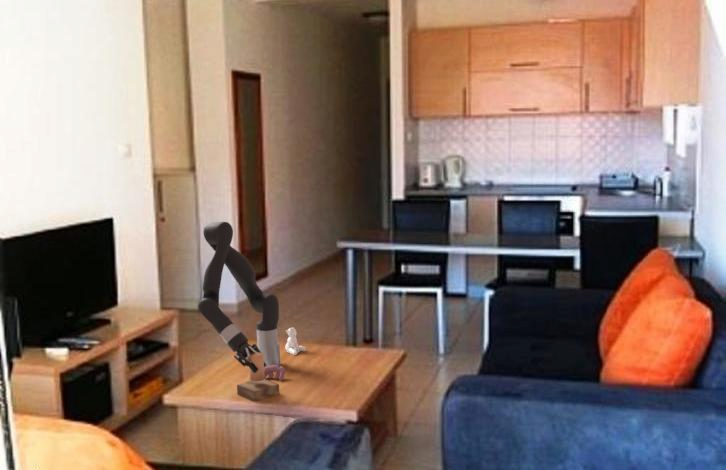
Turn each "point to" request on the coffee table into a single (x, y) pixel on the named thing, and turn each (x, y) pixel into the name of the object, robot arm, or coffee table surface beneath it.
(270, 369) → the pink gamepad
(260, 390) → the walnut block
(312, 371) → the coffee table surface
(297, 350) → the seated beast figurine
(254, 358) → the peach orange capsule
